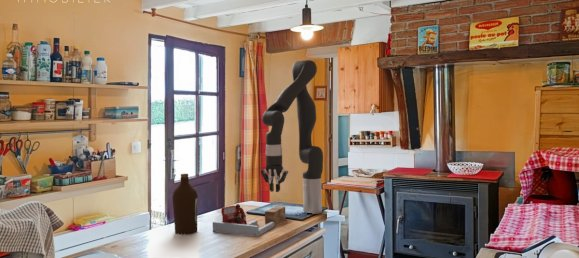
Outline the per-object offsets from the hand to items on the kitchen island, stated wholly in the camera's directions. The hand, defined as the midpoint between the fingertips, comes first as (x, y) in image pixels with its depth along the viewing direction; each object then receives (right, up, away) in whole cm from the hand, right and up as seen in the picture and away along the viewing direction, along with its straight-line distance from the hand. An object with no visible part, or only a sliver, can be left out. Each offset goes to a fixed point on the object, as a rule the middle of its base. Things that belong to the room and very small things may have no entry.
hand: (274, 191), depth 213 cm
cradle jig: (-13, -15, -11) cm, 23 cm away
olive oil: (-38, -16, -14) cm, 43 cm away
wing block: (0, -14, +1) cm, 14 cm away
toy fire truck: (-17, -15, -10) cm, 25 cm away
